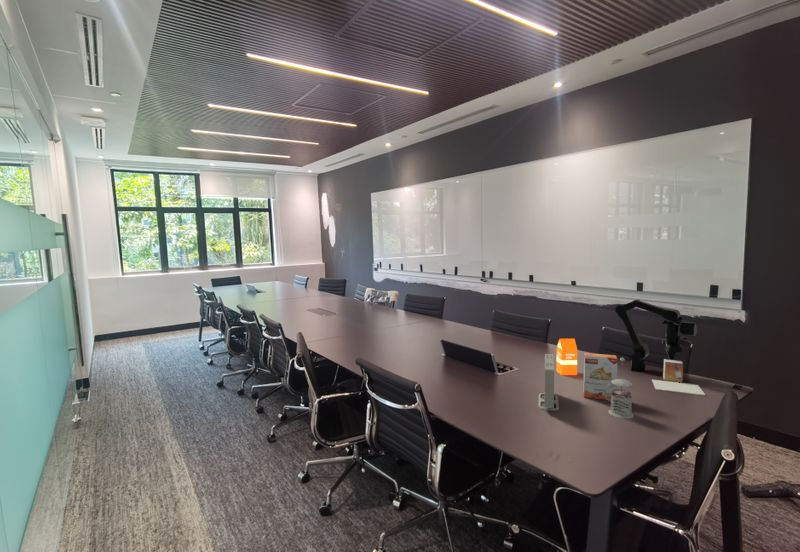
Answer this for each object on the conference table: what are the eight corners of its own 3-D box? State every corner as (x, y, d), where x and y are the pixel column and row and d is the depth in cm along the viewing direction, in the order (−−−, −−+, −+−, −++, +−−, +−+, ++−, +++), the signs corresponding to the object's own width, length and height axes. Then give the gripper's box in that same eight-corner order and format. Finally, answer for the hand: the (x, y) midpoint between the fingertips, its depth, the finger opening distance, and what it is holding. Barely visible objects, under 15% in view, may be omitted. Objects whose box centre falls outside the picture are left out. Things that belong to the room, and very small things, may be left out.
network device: (559, 414, 171) (559, 370, 169) (538, 411, 174) (538, 368, 172) (557, 393, 195) (557, 353, 193) (538, 391, 198) (539, 352, 196)
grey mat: (656, 389, 196) (656, 388, 196) (651, 380, 209) (651, 379, 209) (705, 395, 187) (705, 394, 187) (697, 385, 200) (697, 384, 200)
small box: (664, 380, 208) (664, 361, 207) (662, 377, 213) (663, 358, 212) (682, 383, 204) (683, 363, 204) (680, 379, 209) (681, 360, 208)
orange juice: (577, 375, 220) (577, 340, 218) (561, 375, 220) (561, 340, 218) (571, 370, 228) (571, 336, 226) (556, 370, 228) (556, 337, 226)
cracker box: (583, 397, 188) (584, 355, 186) (583, 393, 194) (583, 352, 192) (616, 401, 183) (617, 358, 181) (614, 396, 188) (616, 354, 187)
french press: (633, 420, 164) (635, 362, 162) (602, 414, 170) (603, 358, 168) (634, 411, 172) (635, 356, 170) (604, 406, 178) (605, 352, 176)
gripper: (695, 337, 200) (693, 367, 201) (686, 330, 217) (685, 357, 218) (669, 336, 204) (668, 365, 206) (662, 328, 221) (661, 355, 222)
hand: (671, 360), depth 213 cm, fingers closed
